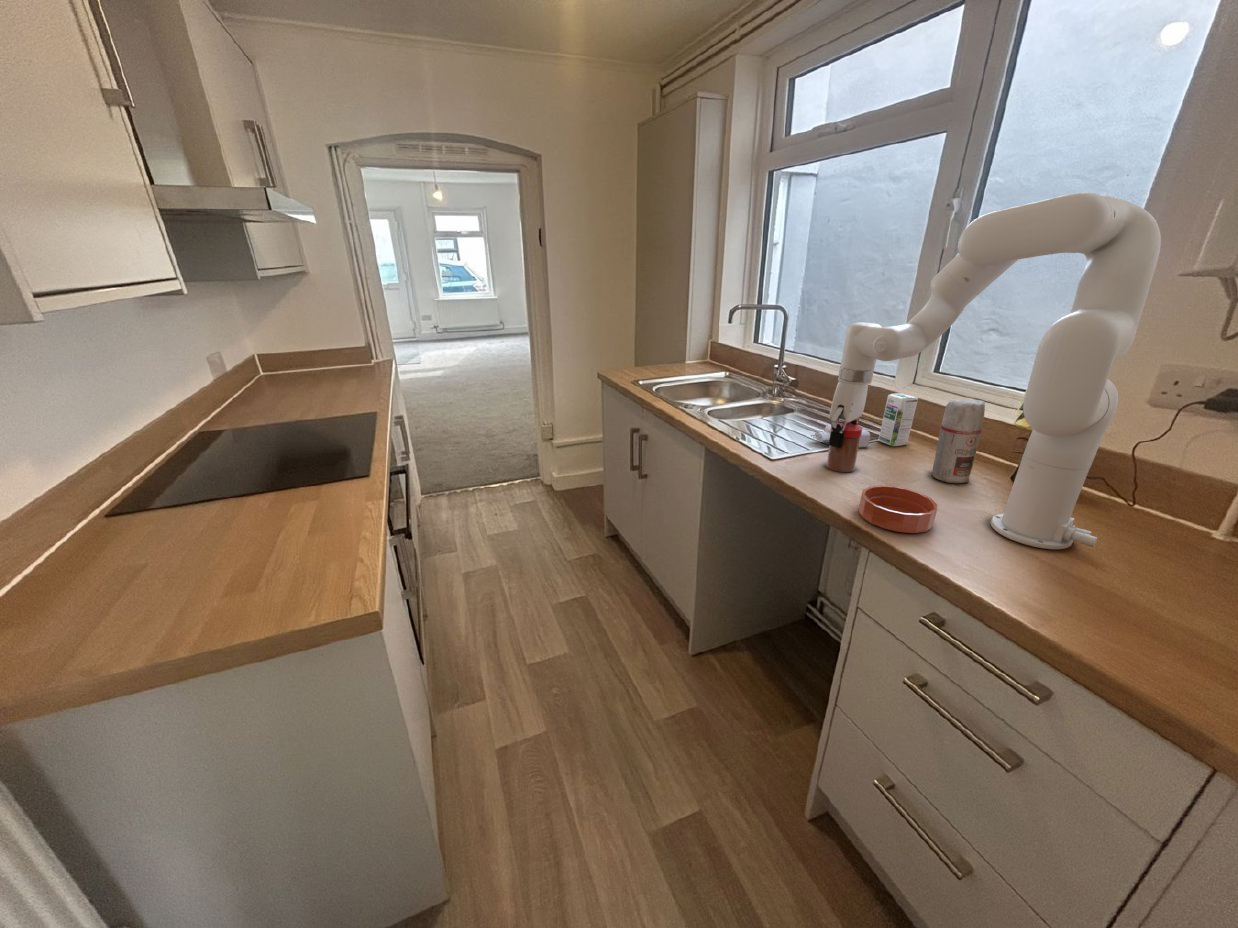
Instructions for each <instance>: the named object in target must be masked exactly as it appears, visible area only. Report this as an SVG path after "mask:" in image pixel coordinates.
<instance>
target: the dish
mask: <svg viewBox="0 0 1238 928" xmlns="http://www.w3.org/2000/svg"><path fill="white" fill-rule="evenodd" d="M937 511H938V504H937V502H935V500H933V499H932V498H931V497H929V496H927V495H925V494H923V493H922V492H919V491H915V490H912V489H909V488H906V487H900V486H895V485H873V486H868V487H866V488H864V489H863V490H862V492H861V495H860V500H859V506H858V513H859V515H860V516H861V518H863V519H864V520H866V521H867V522H868V523H870V524H871V525H874V526H877V527H879V528H881V529H885V530H888V531H892V532H897V533H909V534H918V533H924V532H927V531H929V530H930V529H933V527H934V523H935V519H936V516H937Z"/></svg>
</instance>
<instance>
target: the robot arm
mask: <svg viewBox="0 0 1238 928" xmlns="http://www.w3.org/2000/svg"><path fill="white" fill-rule="evenodd" d="M1161 245H1162V235H1161V230H1160V227H1159V224H1158V222H1157V221H1156V219H1155V217H1153V215H1152V214H1151V213H1150V212H1149V211H1147V210H1146V209H1145V208H1143V207H1141V206H1140V205H1137V204H1135V203H1133V202H1130V201H1127V200H1125V199H1122V198H1118V197H1114V196H1110V195H1106V194H1100V193H1094V192H1074V193H1069V194H1063V195H1059V196H1054V197H1050V198H1046V199H1044V200H1037V201H1033V202H1030V203H1026V204H1022V205H1016V206H1013V207H1008V208H1004V209H1000V210H994V211H991V212H987V213H985V214H982V215H980V216H979V217H977V218H975V219H973V220H972V221H971V222H969V224H968V225H966V227H965V228H964V229H963V231H962V232H961V234H960V236H959V238H958V242H957V252H958V253H957V254H956V255H955V256H954V257H953V258H952V259H951V260H950V261H949V262H948V263H947V264H946V265H945V266H944V267H942V269H940V271H939V272H937V274H935V275H934V276H933V278H932V279H931V281H930V289H931V292H930V293H931V294H930V297H929V299H928V301H927V302H926V303H925V305H924V306H922V308H920V310H919V311H918V312H917V313H916V314H915V315H914V316H913V317H912V318H911V319H910V320H908V322H906V323H905V324H898V325H892V326H882V325H880V324H879V323H875V322H867V321H866V322H865V321H864V322H863V321H859V322H858V321H857V322H853V323H850V324H849V325H848V327H847V330H846V334H845V339H844V345H843V351H842V356H841V360H840V366H839V372H838V377H837V380H838V381H837V384H836V387H835V390H834V394H833V398H832V402H831V406H830V411H829V415H828V418H829V420H830V425H831V434H830V440H829V443H828V446H829V445H830V446H833V447H837V448H841V447H842V444H843V439H844V434H845V433H843V432H844V429H845V427H846V424H847V423H851V424H856V425H860V424H859V423H860V419H861V417H862V415H863V413H864V410H865V407H866V403H867V402H866V401H867V396H868V389H869V385H870V384H872V380H873V376H874V372H875V368H876V363H877V361H881V362H892V361H897V360H901V359H906V358H911V357H915V356H917V355H919V354H920V353H922V352H923V351H924V350H926V349H927V348H928V347H930V346H931V345H932V344H933V343H934V342H935V341H937V340H938V339H939V338H940V337H941V336H942V335H944V333H946V332H947V331H948V330H949V329H950V328H951V326H952V325H953V324H954V323H955V322H956V320H957V319H958V318H959V317H960V315H962V313H963V311H964V309H965V308H966V307H967V306H968V305H969V304H970V303H971V302H972V301H973V300H974V299H975V298H977V297H978V296H979V295H980V294H981V293H982V292H983V291H984V290H986V289H987V288H988V287H990V285H991V284H993V282H995V281H997V279H998V278H999V277H1000V276H1001V275H1003V274H1004V273H1005V272H1006V271H1008V269H1009V268H1011V267H1012V266H1013V265H1014V264H1015V263H1017V261H1019V260H1023V259H1030V258H1036V257H1043V256H1048V255H1055V254H1056V255H1057V254H1082V255H1084V256H1085V260H1086V263H1085V267H1084V269H1083V272H1082V274H1081V276H1080V279H1079V282H1078V284H1077V287H1076V292H1075V296H1074V300H1073V302H1072V306H1071V309H1070V312H1069V314H1067V315H1064V316H1062V317H1061V318H1059V319H1058V320H1056V321H1054V322H1053V324H1051V325H1050V326H1049V328H1047V330H1046V331H1045V333H1044V334H1043V336H1042V338H1041V340H1040V342H1039V344H1038V347H1037V349H1036V353H1035V357H1034V361H1033V365H1032V369H1031V372H1030V376H1029V379H1028V380H1029V381H1028V384H1027V386H1026V387H1027V388H1026V391H1025V395H1024V398H1023V405H1022V412H1023V417H1024V420H1025V421H1026V423H1027V424H1028V425H1029V427H1031V428H1032V431H1031V433H1030V435H1029V438H1028V440H1027V443H1026V446H1025V449H1024V452H1023V454H1022V457H1021V460H1020V462H1019V466H1018V468H1017V472H1016V474H1015V478H1014V481H1013V485H1012V487H1011V490H1010V493H1009V496H1008V499H1007V502H1006V506H1005V508H1004V510H1003V512H1002V513H997V514H995V515H993V516H992V518H991V520H990V526H991V527H992V529H993V530H994V531H996V532H997V533H998V534H999V535H1001V536H1003V537H1005V538H1007V539H1008V540H1012V541H1014V542H1016V543H1019V544H1023V545H1026V546H1029V547H1034V548H1039V549H1046V550H1064V549H1067V548H1070V547H1071V546H1072V544H1073V542H1077V543H1079V544H1082V545H1085V546H1088V547H1092V548H1094V547H1095V545H1096V543H1097V541H1098V537H1097V536H1094V535H1092V533H1093V532H1092V531H1090V530H1087V529H1084V528H1083V529H1082V528H1079V527H1076V524H1075V525H1074V521H1075V518H1074V517H1072V514H1073V512H1074V509H1075V508H1076V504H1077V502H1078V499H1079V497H1080V494H1081V492H1082V490H1083V486H1084V484H1085V482H1086V479H1087V477H1088V474H1089V471H1090V469H1091V467H1092V465H1093V462H1094V460H1095V458H1096V455H1097V452H1098V450H1099V448H1100V446H1101V443H1102V441H1103V438H1104V437H1105V434H1106V433H1107V430H1108V429H1109V426H1110V425H1111V423H1112V421H1113V419H1114V417H1115V415H1116V412H1117V409H1118V406H1119V399H1120V398H1119V392H1118V389H1117V387H1116V385H1115V384H1114V383H1113V382H1112V381H1111V380H1110V379H1109V376H1110V373H1111V370H1112V368H1113V364H1114V361H1116V360H1119V359H1120V358H1122V357H1123V356H1124V355H1126V353H1128V351H1129V350H1130V349H1131V348H1132V346H1133V344H1134V341H1135V339H1136V335H1137V331H1138V327H1139V324H1140V320H1141V317H1142V314H1143V311H1144V307H1145V304H1146V301H1147V298H1148V295H1149V292H1150V287H1151V283H1152V281H1153V278H1154V275H1155V271H1156V268H1157V265H1158V261H1159V257H1160V253H1161V247H1162V246H1161ZM838 423H842V426H840V424H838Z"/></svg>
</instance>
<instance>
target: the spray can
mask: <svg viewBox="0 0 1238 928" xmlns="http://www.w3.org/2000/svg"><path fill="white" fill-rule="evenodd" d="M985 403H986V402H985V401H984V400H980V399H979V400H953V399H952V400H950V401H948V402H947V404H946V405H945V410H944V413H943V417H942V420H941V424H940V429H939V434H938V440H937V445H936V448H935V454H934V460H933V465H932V472H931V473H930V474H931V476H932V477H933V478H935V480H936V479H937V480H939V481H942V482H946V483H948V484H949V483H950V484H962V483H968V482H970V477H971V473H972V470H973V467H974V462H975V459H976V454H977V451H978V447H979V444H980V439H981V435H982V430H983V424H984V419H985V412H986V411H985V410H986V404H985Z"/></svg>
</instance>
